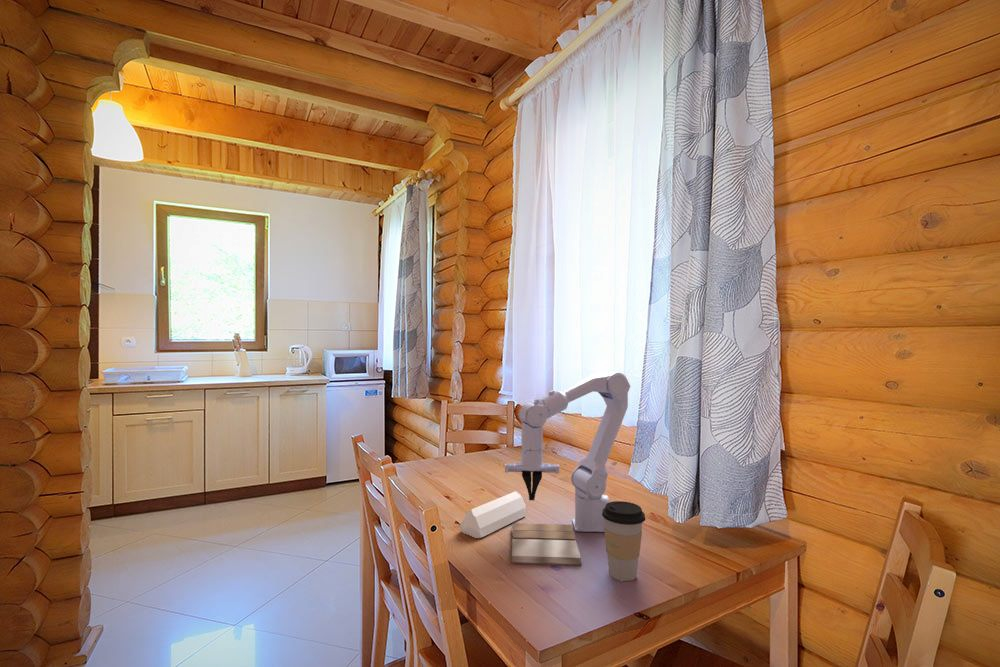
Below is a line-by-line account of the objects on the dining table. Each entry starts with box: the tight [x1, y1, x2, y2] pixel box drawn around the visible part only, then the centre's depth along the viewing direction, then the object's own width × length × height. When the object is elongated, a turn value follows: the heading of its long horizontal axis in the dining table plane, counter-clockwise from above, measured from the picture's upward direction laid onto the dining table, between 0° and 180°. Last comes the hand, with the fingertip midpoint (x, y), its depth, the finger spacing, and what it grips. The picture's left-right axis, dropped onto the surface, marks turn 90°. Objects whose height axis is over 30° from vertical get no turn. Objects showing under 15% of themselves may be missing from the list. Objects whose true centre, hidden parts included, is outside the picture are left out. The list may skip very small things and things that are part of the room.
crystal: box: [460, 490, 527, 539], centre depth 130 cm, size 7×7×24 cm
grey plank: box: [511, 538, 582, 565], centre depth 112 cm, size 16×9×2 cm, turn 88°
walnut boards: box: [511, 522, 576, 541], centre depth 122 cm, size 16×9×2 cm, turn 88°
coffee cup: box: [602, 500, 646, 582], centre depth 104 cm, size 9×9×15 cm
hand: (531, 499), depth 124 cm, fingers closed
